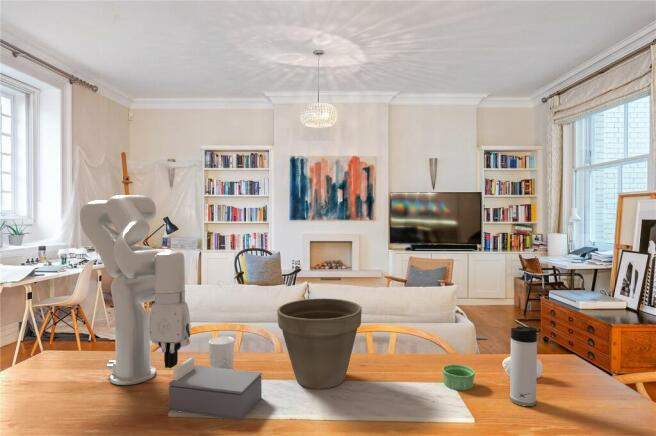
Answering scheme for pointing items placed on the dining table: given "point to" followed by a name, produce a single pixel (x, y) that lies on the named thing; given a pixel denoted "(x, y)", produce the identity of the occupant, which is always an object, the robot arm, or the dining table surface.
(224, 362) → the white cup
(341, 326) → the plant pot
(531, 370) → the travel mug
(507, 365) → the bust
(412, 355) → the dining table surface
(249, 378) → the mailer lid
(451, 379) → the ramekin
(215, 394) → the box
